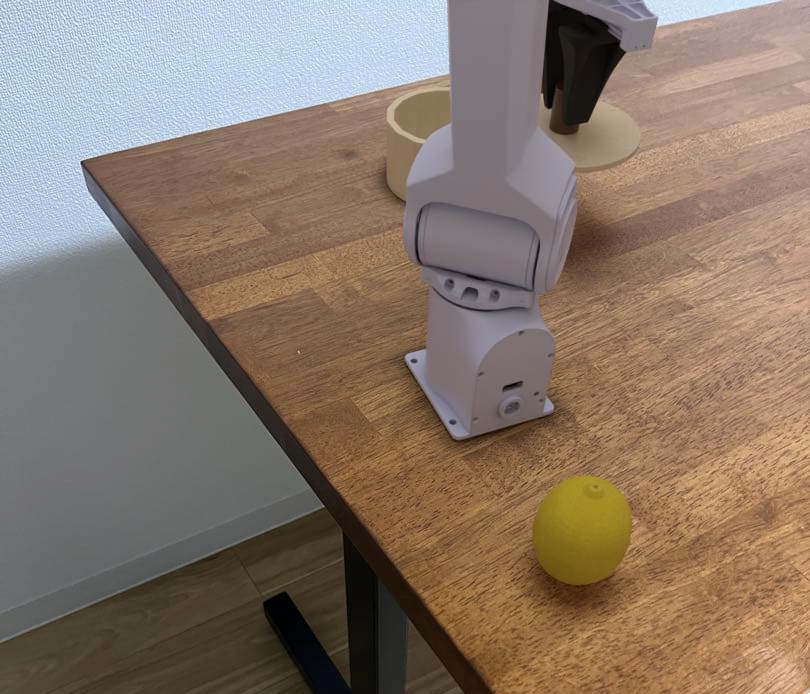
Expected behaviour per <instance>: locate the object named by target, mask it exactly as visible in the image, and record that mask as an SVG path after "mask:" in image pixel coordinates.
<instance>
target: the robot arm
mask: <svg viewBox="0 0 810 694" xmlns="http://www.w3.org/2000/svg"><path fill="white" fill-rule="evenodd" d="M446 11H447V42H448V43H447V45H448V73H449V74H448V75H449V76H448V77H449V78H448V79H449V87H450V111H451V123H450V124H448V125H446V126H444V127H442V128H440V129H439V130H437V131H435V132H434V133H432V134H431V135H430V136H429V137H428V138H427V140H426V141H425V142H424V144H423V145H422V147H421V149H420V151H419V153H418V155H417V156H416V158H415V160H414V162H413V165H412V167H411V170H410V172H409V175H408V178H407V182H406V201H405V209H404V215H403V220H402V221H403V224H402V243H403V248H404V250H405V252H406V254H407V257H408V260H409V261H410V262H411V264H413V265H417V266H421V270H420V271H421V273H420V282H421V283H423V284H426V285H428V302H427V318H426V319H427V321H426V341H425V349H420V350H416V351H412V352H409V353H407V354H405V357H404V362H405V364H406V366H407V367H408V369H409V370H410V372H411V374H412V375H413V377H414V378H415V380H416V381H417V384H418V385H419V387H420V388H421V390H422V391H423V393H424V395H425V396H426V398H427V399H428V401H429V402H430V404H431V406H432V407H433V409H434V411H435V412H436V414H437V415H438V417H439V419H440V421H441V422H442V423H443V425H444V426H445V428H446V430H447V432H448V433H449V435H450V436H451V438H452V439H453V440H455V441H462V440H466V439H469V438H472V437H476V436H479V435H483V434H487V433H490V432H494V431H497V430H500V429H504V428H507V427H510V426H514V425H518V424H521V423H525V422H527V421H531V420H535V419H538V418H541V417H545V416H548V415H551V414H553V412H554V410H555V405H554V404H553V403H552V401H551V400H550V398H549V397H548V396H547V395H548V390H549V387H550V382H551V377H552V372H553V367H554V363H555V358H556V351H557V345H556V340H555V337H554V336H553V334H552V332H551V330H550V329H549V328H548V326H547V324H546V322H545V319H544V317H543V314H542V311H541V307H540V301H539V295H542V296H544V295H546V294H547V293H548V292H549V291H550V290H552V289H553V288H556V286H557V284H558V282H559V280H560V277H561V274H562V273H563V270H564V266H565V264H566V260H567V258H568V254H569V250H570V246H571V242H572V239H573V234H574V231H575V225H576V221H577V215H578V207H579V203H578V199H577V186H578V185H577V184H578V177H577V175H576V173H575V167H576V165H575V163H574V161H573V160H572V159H571V158H570V157H569V156H568V155H567V154H566V153H565V152H564V151H563V150H562V149H561V148H560V147H559V146H558V145H557V144H555V143H554V142H553V141H552V140H551V139H550V138H549V137H548V136H547V135H546V134H545V133H544V132H543V131H542V130H541V129H540V127H539V126H538V121H539V109H540V97H541V85H542V88H543V100H544V106H545V107H546V108H547V109H552V104H553V98H554V92H555V85H556V83H557V82H559V81H561V80H564V89H563V99H562V122H563V123H564V124H565V125H566V126H572V125H577V124H582V123H587V122H588V121H589V119H590V117H591V115H592V113H593V110H594V108H595V106H596V104H597V102H598V100H600V97H601V95H602V93H603V91H604V89H605V87H606V85H607V82H608V81H609V79H610V77H611V76H612V74H613V72H614V70H615V69H616V68H617V66H618V65H619V63H620V62H621V61H622V59H623V58H624V57H625V55H626V54H627V53H631V52H638V51H643V50H649V49H652V45H653V42H654V37H655V33H656V30H657V25H658V21H659V16H658V15H656V14H655V13H654V12H653V11H651V10H650V9H649V8H648V6H647V4H646V2H645V1H644V0H446Z"/></svg>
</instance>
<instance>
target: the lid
mask: <svg viewBox="0 0 810 694" xmlns="http://www.w3.org/2000/svg"><path fill="white" fill-rule="evenodd" d="M563 89H564V80H561V81H559V82H557V83H556V85H555V92H554V98H553V104H552V109H547V108H546V107H545V106H544V100H543V94H541V97H540V109H539V121H538V126H539V127H540V129H541V130H542V131H543V132H544V133H545V134H546V135H547V136H548V137H549V138H550V139H551V140H552V141H553V142H554V143H555V144H557V145H558V146H559V147H560V148H561V149H562V150H563V151H564V152H565V153H566V154H567V155H568V156H569V157H570V158H571V159H572V160H573V161H574V163H575V165H576V167H575V174H583V173H584V174H586V173H595V172H601V171H607V170H609V169H613V168H616V167H618V166H620V165H623V164H624V163H627V162H628V161H630V160H631V159H632V158H633V157H634V156H635V155H636V153H637V152H638V150H639V148H640V144H641V140H642V132H641V129H640V127H639V125H638V123H637V122H636V121H635V120H634V118H633V117H631V116H630V115H629V114H628V113H627V112H624V111H623V110H622V109H620V108H618V107H617V106H614V105H612V104H610V103H608V102H605V101H602V100H600V99H598V102H597V104H596V106H595V108H594V110H593V113H592V115H591V117H590V119H589V121H588V122H587V123H582V124H577V125H572V126H566V125H565V124H564V123H563V122H562V99H563Z"/></svg>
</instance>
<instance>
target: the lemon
mask: <svg viewBox="0 0 810 694" xmlns="http://www.w3.org/2000/svg"><path fill="white" fill-rule="evenodd" d="M632 529H633V517H632V513H631V508H630V505H629V503H628V501H627V499H626V497H625V495H624V494H623V492H622V491H621V490H620V489H619V488H618V487H617V486H616V485H614V484H613V483H612V482H610V481H609V480H606V479H605V478H601V477H598V476H595V475H578V476H577V475H576V476H572V477H569V478H566V479H564V480H562V481H560V482H559V483H558V484H557V485H555V486H554V487H552V488H551V490H550V491H549V493H547V495H546V496H545V497H544V499H542V501H541V503H540V505H539V507H538V509H537V511H536V514H535V516H534V520H533V523H532V533H531V542H532V543H531V544H532V548H533V551H534V554H535V555H534V556H535V557H536V560H537V562H538V563H539V564H540V566H541V568H542V569H543V570H544V571H545V572H546V573H547V574H548V575H549V576H551V577H552V578H553V579H555V580H557V581H560V582H563V583H564V584H568V585H574V586H586V585H590V584H594V583H597V582H599V581H601V580H604V579H605V578H606V577H608V576H610V574H611V573H613V572H614V570H616V568H617V567H619V565H620V564H621V563H622V561H623V559H624V557H625V555H626V554H627V552H628V549H629V546H630V543H631V538H632V537H631V536H632Z"/></svg>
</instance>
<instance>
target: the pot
mask: <svg viewBox="0 0 810 694" xmlns="http://www.w3.org/2000/svg"><path fill="white" fill-rule="evenodd" d="M450 123H451V111H450V86H433V87H428V88H422V89H415V90H413V91H410V92H407V93H406V94H403V95H401V96H399V97H397V98H395V100H394V101H392V103H390V105H389V106H388V107H387V108H386V182H387V186H388V188H389V189H390V190H391V192H392V193H393V194H394V195H395V196H396V197H397V198H398V199H400V200H402V201H403V202H406V182H407V178H408V175H409V172H410V170H411V167H412V165H413V162H414V160H415V158H416V156H417V155H418V153H419V151H420V149H421V147H422V145H423V144H424V142H425V141H426V140H427V138H428V137H429V136H430V135H431V134H432V133H434V132H435V131H437V130H439V129H440V128H442V127H444V126H446V125H448V124H450Z"/></svg>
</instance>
